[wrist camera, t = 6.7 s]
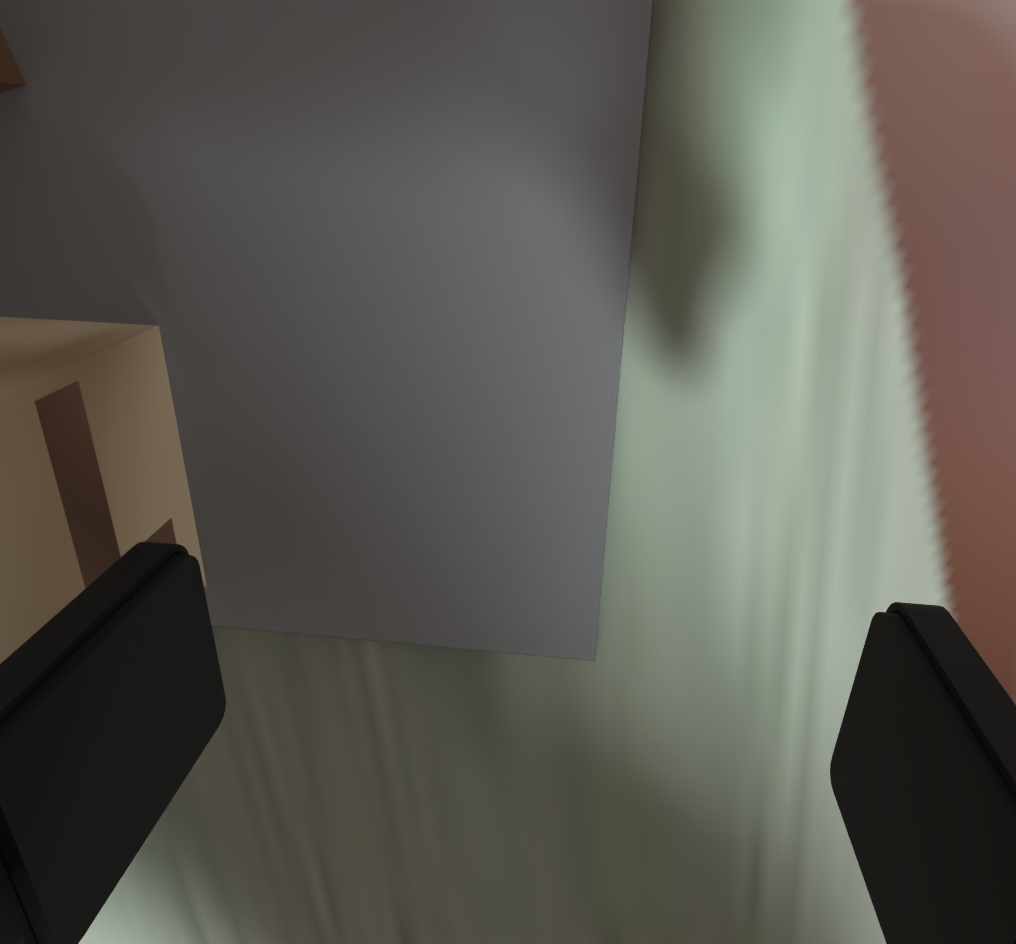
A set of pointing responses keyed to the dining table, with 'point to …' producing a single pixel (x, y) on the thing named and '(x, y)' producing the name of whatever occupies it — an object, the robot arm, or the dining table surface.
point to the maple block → (82, 462)
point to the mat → (353, 286)
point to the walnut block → (8, 68)
